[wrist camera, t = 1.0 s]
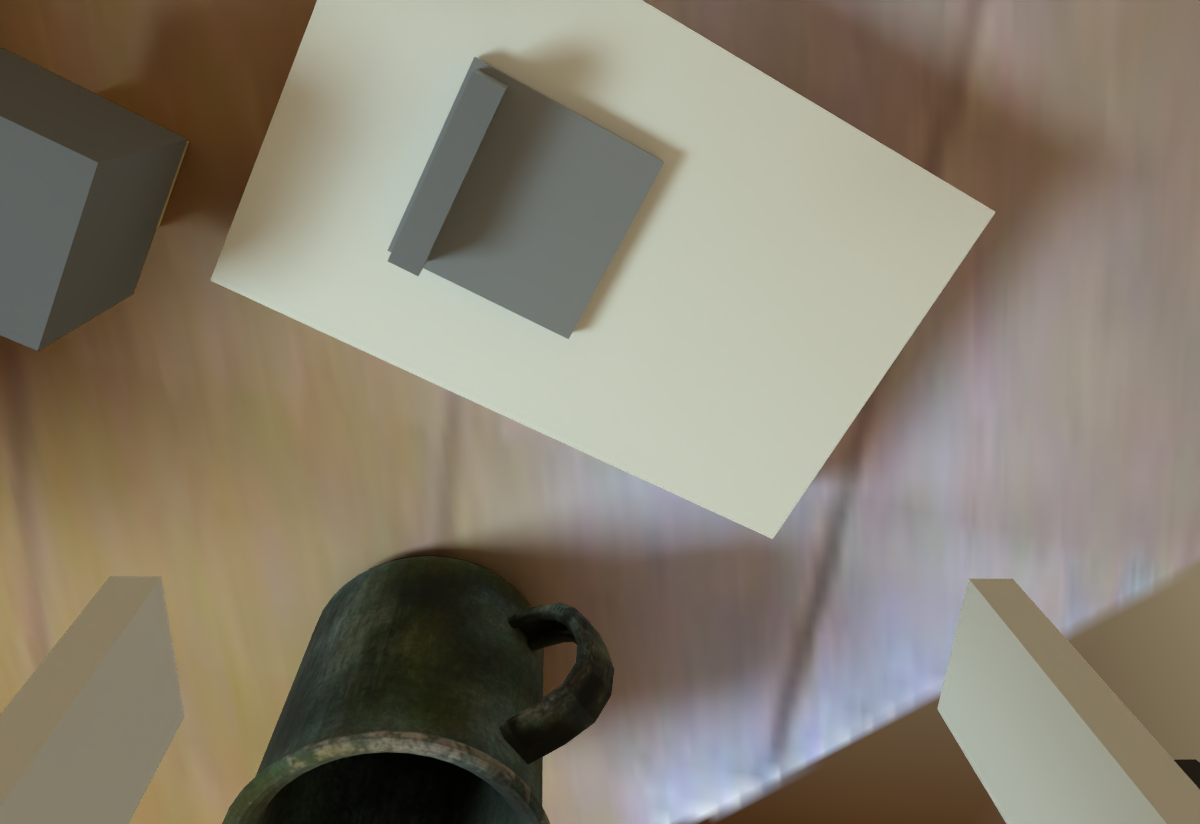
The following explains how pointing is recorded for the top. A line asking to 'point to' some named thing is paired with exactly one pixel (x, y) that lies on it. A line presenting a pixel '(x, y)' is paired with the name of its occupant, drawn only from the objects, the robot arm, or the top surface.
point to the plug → (73, 200)
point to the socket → (644, 257)
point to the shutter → (522, 200)
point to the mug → (426, 703)
